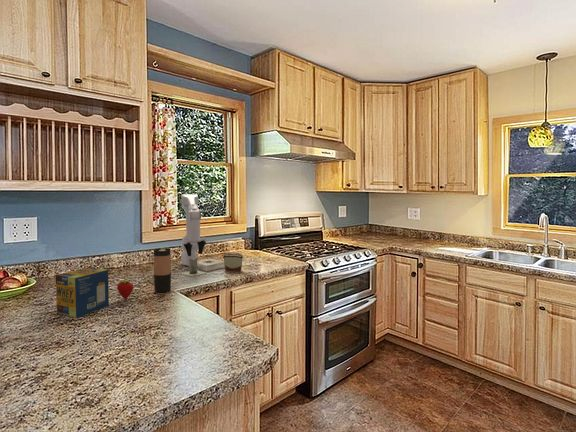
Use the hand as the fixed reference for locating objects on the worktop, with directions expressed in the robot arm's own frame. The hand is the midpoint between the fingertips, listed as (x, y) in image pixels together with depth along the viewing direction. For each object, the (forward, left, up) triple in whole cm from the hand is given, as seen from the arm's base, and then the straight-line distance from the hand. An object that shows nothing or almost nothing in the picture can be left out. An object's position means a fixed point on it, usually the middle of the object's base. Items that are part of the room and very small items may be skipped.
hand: (194, 254), depth 201 cm
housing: (-4, +13, -10) cm, 17 cm away
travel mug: (+17, -32, -11) cm, 38 cm away
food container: (+13, +18, -11) cm, 25 cm away
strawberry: (+15, -49, -11) cm, 52 cm away
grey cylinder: (+1, -2, -10) cm, 10 cm away
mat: (+1, -2, -10) cm, 11 cm away
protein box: (+15, -66, -11) cm, 68 cm away
